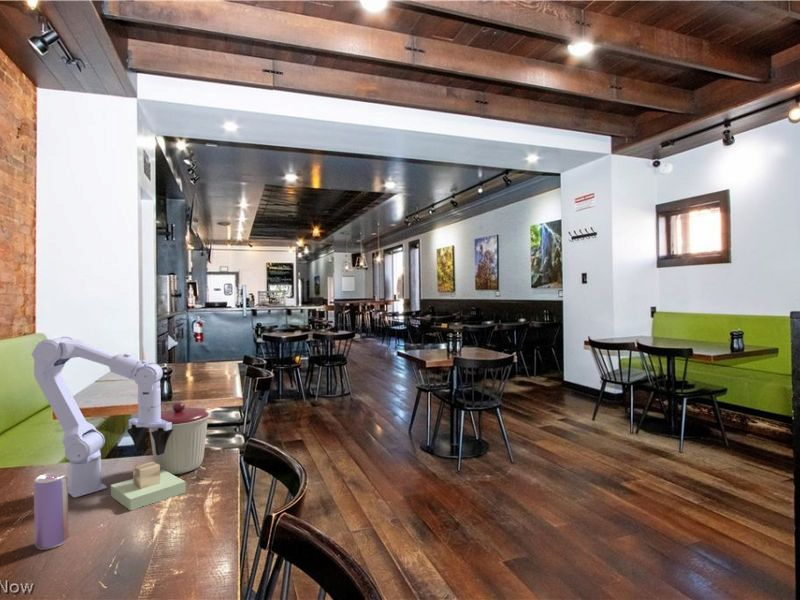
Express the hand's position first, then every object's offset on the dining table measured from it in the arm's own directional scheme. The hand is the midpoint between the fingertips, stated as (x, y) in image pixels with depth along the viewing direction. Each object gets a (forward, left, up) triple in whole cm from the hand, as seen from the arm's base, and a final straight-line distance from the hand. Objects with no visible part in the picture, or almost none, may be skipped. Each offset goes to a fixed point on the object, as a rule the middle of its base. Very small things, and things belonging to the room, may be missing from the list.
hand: (150, 452), depth 132 cm
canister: (-6, +11, -10) cm, 16 cm away
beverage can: (+16, -27, -10) cm, 33 cm away
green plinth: (+6, -3, -9) cm, 12 cm away
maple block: (+6, -3, -6) cm, 9 cm away
